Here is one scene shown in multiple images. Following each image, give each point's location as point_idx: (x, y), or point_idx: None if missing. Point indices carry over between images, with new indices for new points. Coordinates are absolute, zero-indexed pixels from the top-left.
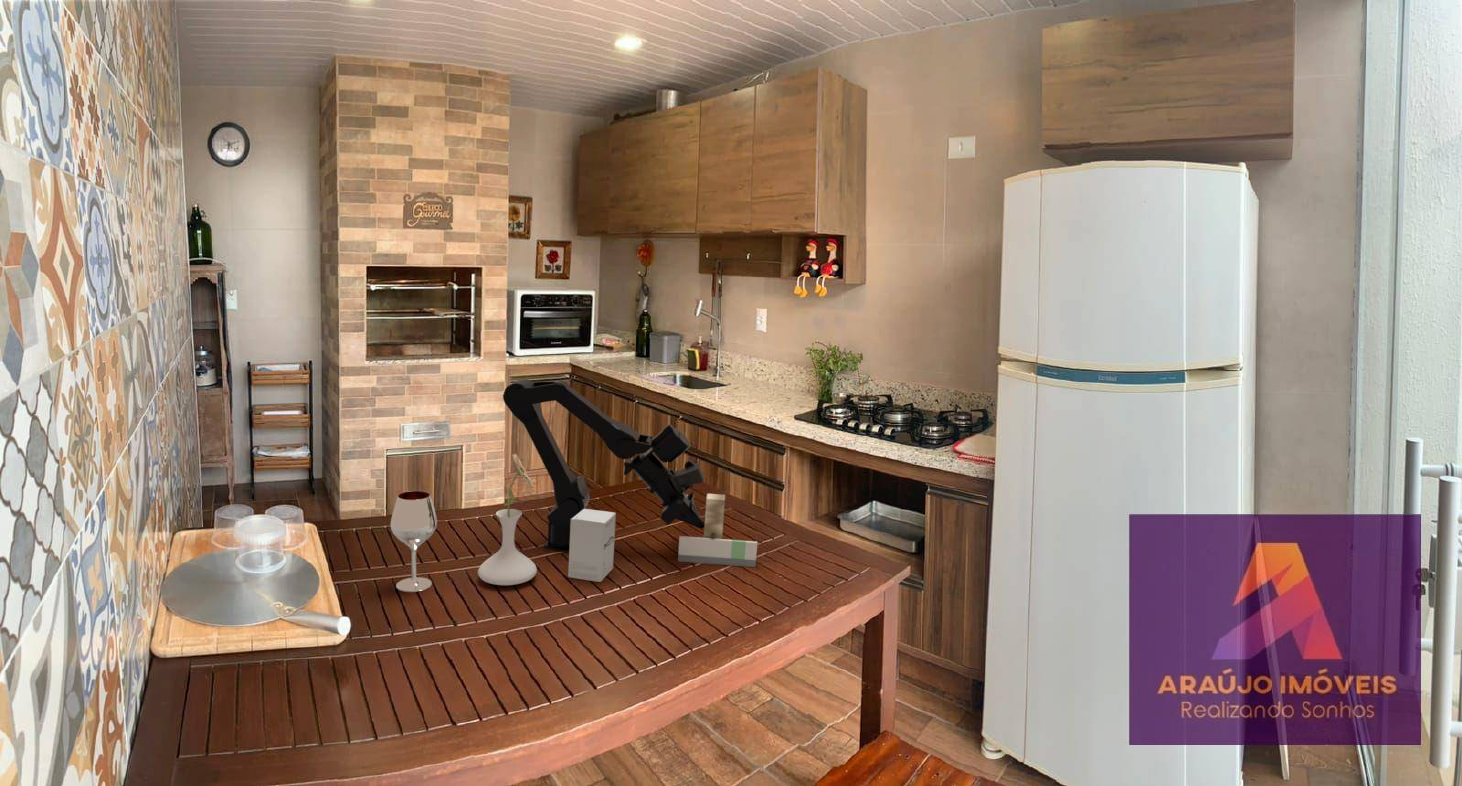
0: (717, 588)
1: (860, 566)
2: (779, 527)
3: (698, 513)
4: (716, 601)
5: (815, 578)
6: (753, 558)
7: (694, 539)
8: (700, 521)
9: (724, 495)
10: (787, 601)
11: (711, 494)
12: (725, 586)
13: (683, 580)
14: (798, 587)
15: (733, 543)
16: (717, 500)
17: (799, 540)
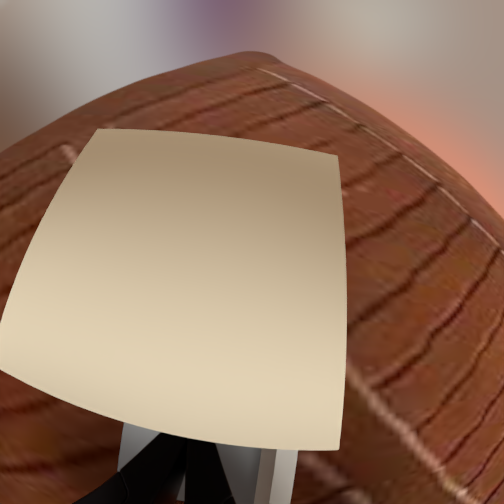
0: (452, 361)
1: (257, 74)
2: (29, 151)
3: (148, 469)
4: (499, 357)
5: (334, 136)
6: None
7: (292, 469)
8: (217, 453)
9: (120, 134)
10: (455, 214)
11: (33, 301)
12: (439, 340)
13: (420, 462)
14: (391, 176)
15: None
16: (341, 246)
17: (108, 122)
